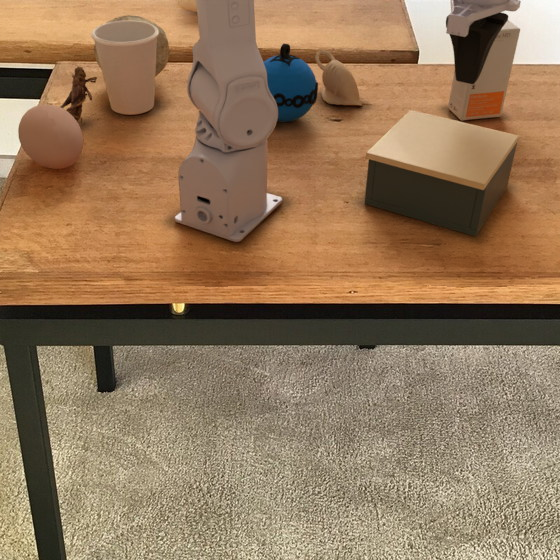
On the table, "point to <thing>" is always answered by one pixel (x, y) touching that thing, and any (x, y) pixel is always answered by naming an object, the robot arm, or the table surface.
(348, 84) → the decorative ornament
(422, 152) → the lid
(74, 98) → the insect
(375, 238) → the table surface
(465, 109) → the cosmetic box
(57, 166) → the egg
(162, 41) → the sculpture
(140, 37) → the dixie cup
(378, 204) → the chest
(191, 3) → the cup
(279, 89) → the ornament
